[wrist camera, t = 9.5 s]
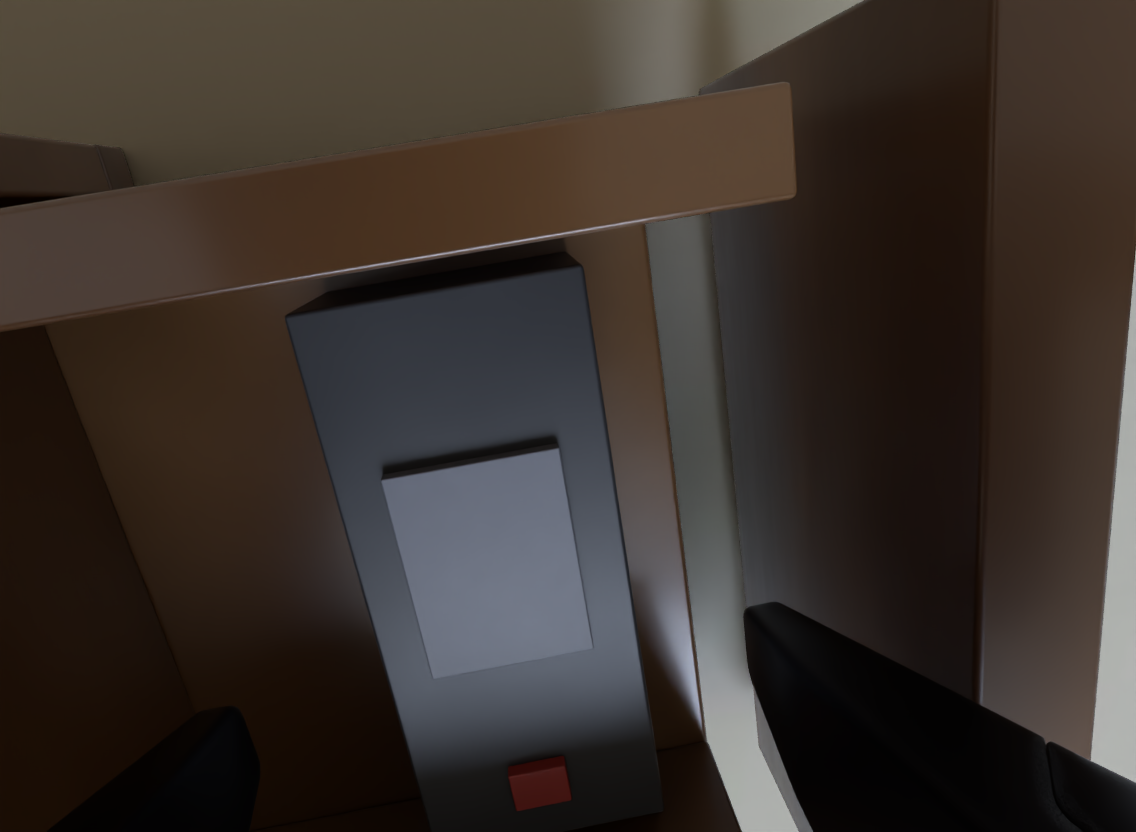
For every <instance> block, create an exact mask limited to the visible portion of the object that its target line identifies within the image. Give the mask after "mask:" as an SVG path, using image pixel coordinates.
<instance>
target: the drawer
mask: <svg viewBox="0 0 1136 832" xmlns="http://www.w3.org/2000/svg"><path fill="white" fill-rule="evenodd" d="M706 213H710V219H711V230H712V241H713V252H714V263H715V274H716V285H717V296H718V307H719V318H720V329H721V339H722V350H723V361H724V372H725V383H726V394H727V405H728V416H729V427H730V438H731V449H732V459H733V470H734V481H735V492H736V503H737V514H738V525H739V536H740V547H741V558H742V568H743V579H744V590H745V601H746V608H747V607H749V606H753V605H758V604H763V603H768V602H779V603H782V604H784V605H786V606H788V607H790V608H791V609H793V610H795V611H797V612H799V613H801V614H803V615H805V616H807V617H809V618H811V619H813V620H815V621H817V622H819V623H821V624H823V625H825V626H827V627H829V628H831V629H833V630H835V631H837V632H839V633H840V634H842V635H844V636H846V637H848V638H850V639H852V640H854V641H856V642H858V643H860V644H862V645H864V646H866V647H868V648H870V649H872V650H874V651H876V652H878V653H880V654H882V655H884V656H886V657H887V658H889V659H891V660H893V661H895V662H897V663H899V664H901V665H903V666H905V667H907V668H909V669H911V670H913V671H915V672H917V673H919V674H921V675H923V676H925V677H927V678H929V679H931V680H933V681H935V682H936V683H938V684H940V685H942V686H944V687H946V688H948V689H950V690H952V691H954V692H956V693H958V694H960V695H962V696H964V697H966V698H968V699H970V700H972V701H974V702H976V703H978V704H980V705H982V706H983V707H985V708H987V709H989V710H991V711H993V712H995V713H997V714H999V715H1001V716H1003V717H1005V718H1007V719H1009V720H1011V721H1013V722H1015V723H1017V724H1019V725H1021V726H1023V727H1025V728H1027V729H1029V730H1031V731H1032V732H1034V733H1036V734H1038V735H1040V736H1042V737H1043V738H1044V739H1045V742H1046V744H1047V743H1048V742H1050V741H1052V742H1055V743H1057V744H1058V745H1060V746H1062V747H1064V748H1066V749H1068V750H1070V751H1072V752H1074V753H1076V754H1078V755H1080V756H1082V757H1084V758H1086V759H1088V760H1091V749H1092V737H1093V726H1094V715H1095V703H1096V692H1097V681H1098V669H1099V658H1100V647H1101V635H1102V624H1103V613H1104V602H1105V590H1106V579H1107V568H1108V556H1109V545H1110V534H1111V522H1112V511H1113V500H1114V488H1115V477H1116V466H1117V454H1118V443H1119V432H1120V420H1121V409H1122V398H1123V386H1124V375H1125V364H1126V352H1127V341H1128V330H1129V318H1130V307H1131V296H1132V284H1133V273H1134V262H1135V250H1136V0H863V1H862V2H860V3H858V4H856V5H854V6H852V7H850V8H849V9H847V10H845V11H843V12H841V13H839V14H837V15H836V16H834V17H832V18H830V19H828V20H826V21H824V22H823V23H821V24H819V25H817V26H815V27H813V28H812V29H810V30H808V31H806V32H804V33H802V34H800V35H799V36H797V37H795V38H793V39H791V40H789V41H787V42H786V43H784V44H782V45H780V46H778V47H776V48H774V49H773V50H771V51H769V52H767V53H765V54H763V55H761V56H760V57H758V58H756V59H754V60H752V61H750V62H748V63H747V64H745V65H743V66H741V67H739V68H737V69H735V70H734V71H732V72H730V73H728V74H726V75H724V76H722V77H721V78H719V79H717V80H715V81H713V82H711V83H710V84H708V85H706V86H704V87H702V88H701V89H700V90H699V95H698V96H692V97H686V98H679V99H673V100H667V101H661V102H655V103H649V104H642V105H636V106H630V107H624V108H618V109H611V110H605V111H599V112H593V113H587V114H580V115H574V116H568V117H562V118H556V119H549V120H543V121H537V122H531V123H525V124H518V125H512V126H506V127H500V128H494V129H488V130H481V131H475V132H469V133H463V134H457V135H450V136H444V137H438V138H432V139H426V140H419V141H413V142H407V143H401V144H395V145H388V146H382V147H376V148H370V149H364V150H357V151H351V152H345V153H339V154H333V155H326V156H320V157H314V158H308V159H302V160H296V161H289V162H283V163H277V164H271V165H265V166H258V167H252V168H246V169H240V170H234V171H227V172H221V173H215V174H209V175H203V176H196V177H190V178H184V179H178V180H172V181H165V182H159V183H153V184H147V185H141V186H135V187H128V188H122V189H116V190H110V191H104V192H97V193H91V194H85V195H79V196H73V197H66V198H60V199H54V200H48V201H42V202H35V203H29V204H23V205H17V206H11V207H4V208H0V832H46V831H47V830H49V829H50V828H51V827H52V826H54V825H55V824H56V823H58V822H59V821H60V820H61V819H63V818H64V817H65V816H66V815H68V814H69V813H70V812H72V811H73V810H74V809H75V808H77V807H78V806H79V805H80V804H82V803H83V802H84V801H86V800H87V799H88V798H89V797H91V796H92V795H93V794H94V793H96V792H97V791H98V790H100V789H101V788H102V787H103V786H105V785H106V784H107V783H108V782H110V781H111V780H112V779H114V778H115V777H116V776H117V775H119V774H120V773H121V772H123V771H124V770H125V769H126V768H128V767H129V766H130V765H131V764H133V763H134V762H135V761H137V760H138V759H139V758H140V757H142V756H143V755H144V754H145V753H147V752H148V751H149V750H151V749H152V748H153V747H154V746H156V745H157V744H158V743H159V742H161V741H162V740H163V739H165V738H166V737H167V736H168V735H170V734H171V733H172V732H173V731H175V730H176V729H177V728H179V727H180V726H181V725H182V724H184V723H185V722H186V721H187V720H189V719H190V718H191V717H193V716H194V715H195V714H197V713H198V712H200V711H203V710H207V709H213V708H218V707H223V706H229V705H233V706H235V707H238V708H239V710H240V711H241V712H242V714H243V716H244V719H245V722H246V725H247V727H248V730H249V733H250V736H251V738H252V741H253V744H254V747H255V749H256V752H257V755H258V758H259V762H260V781H259V787H258V792H257V797H256V801H255V806H254V811H253V816H252V821H251V826H250V831H249V832H430V828H429V825H428V821H427V818H426V814H425V811H424V807H423V804H422V800H421V797H420V793H419V790H418V786H417V783H416V779H415V776H414V772H413V769H412V765H411V761H410V758H409V754H408V751H407V747H406V744H405V740H404V737H403V733H402V730H401V726H400V723H399V719H398V716H397V712H396V709H395V705H394V702H393V698H392V695H391V691H390V688H389V684H388V681H387V677H386V674H385V670H384V667H383V663H382V660H381V656H380V653H379V649H378V646H377V642H376V639H375V635H374V631H373V628H372V624H371V621H370V617H369V614H368V610H367V607H366V603H365V600H364V596H363V593H362V589H361V586H360V582H359V579H358V575H357V572H356V568H355V565H354V561H353V558H352V554H351V551H350V547H349V544H348V540H347V537H346V533H345V530H344V526H343V523H342V519H341V516H340V512H339V509H338V505H337V502H336V498H335V494H334V491H333V487H332V484H331V480H330V477H329V473H328V470H327V466H326V463H325V459H324V456H323V452H322V449H321V445H320V442H319V438H318V435H317V431H316V428H315V424H314V421H313V417H312V414H311V410H310V407H309V403H308V400H307V396H306V393H305V389H304V386H303V382H302V379H301V375H300V372H299V368H298V365H297V361H296V357H295V354H294V350H293V347H292V343H291V340H290V336H289V333H288V329H287V326H286V322H285V315H287V314H288V313H290V312H292V311H294V310H295V309H297V308H299V307H301V306H303V305H304V304H306V303H308V302H310V301H312V300H313V299H315V298H317V297H319V296H321V295H323V294H324V293H326V292H330V291H336V290H342V289H348V288H354V287H359V286H365V285H371V284H377V283H383V282H389V281H395V280H400V279H406V278H412V277H418V276H424V275H430V274H436V273H441V272H447V271H453V270H459V269H465V268H471V267H477V266H482V265H488V264H494V263H500V262H506V261H512V260H517V259H523V258H529V257H535V256H541V255H547V254H553V253H558V252H567V253H569V254H570V255H571V256H572V257H573V258H575V259H576V260H577V261H578V262H579V263H580V264H582V266H583V268H584V273H585V280H586V287H587V293H588V300H589V307H590V313H591V320H592V327H593V333H594V340H595V347H596V353H597V360H598V367H599V373H600V380H601V387H602V393H603V400H604V407H605V413H606V420H607V427H608V433H609V440H610V447H611V454H612V460H613V467H614V474H615V480H616V487H617V494H618V500H619V507H620V514H621V520H622V527H623V534H624V540H625V547H626V554H627V560H628V567H629V574H630V580H631V587H632V594H633V600H634V607H635V614H636V620H637V627H638V634H639V640H640V647H641V654H642V660H643V667H644V674H645V680H646V687H647V694H648V700H649V707H650V714H651V720H652V727H653V734H654V740H655V747H656V754H657V760H658V767H659V774H660V780H661V787H662V794H663V801H664V811H662V812H658V813H653V814H648V815H643V816H638V817H633V818H628V819H623V820H618V821H613V822H608V823H604V824H599V825H594V826H589V827H584V828H579V829H574V830H569V831H564V832H742V830H741V828H740V825H739V822H738V820H737V817H736V815H735V812H734V809H733V807H732V804H731V801H730V799H729V796H728V794H727V791H726V788H725V786H724V783H723V780H722V778H721V775H720V772H719V770H718V767H717V765H716V762H715V759H714V757H713V754H712V751H711V749H710V746H709V744H708V743H707V737H706V729H705V721H704V712H703V704H702V696H701V687H700V679H699V670H698V662H697V654H696V645H695V637H694V629H693V620H692V612H691V603H690V595H689V587H688V578H687V570H686V562H685V553H684V545H683V536H682V528H681V520H680V511H679V503H678V495H677V486H676V478H675V469H674V461H673V453H672V444H671V436H670V428H669V419H668V411H667V402H666V394H665V386H664V377H663V369H662V361H661V352H660V344H659V335H658V327H657V319H656V310H655V302H654V294H653V285H652V277H651V268H650V260H649V252H648V243H647V235H646V227H645V224H647V223H653V222H659V221H665V220H671V219H677V218H683V217H689V216H694V215H700V214H706ZM753 688H754V687H753ZM754 699H755V710H756V721H757V732H758V743H759V748H760V750H761V752H762V754H763V756H764V758H765V760H766V762H767V765H768V767H769V769H770V771H771V773H772V775H773V777H774V779H775V782H776V784H777V786H778V788H779V790H780V792H781V794H782V796H783V799H784V801H785V803H786V805H787V807H788V809H789V811H790V814H791V816H792V818H793V820H794V822H795V824H796V826H797V828H798V831H799V832H813V831H812V829H811V827H810V825H809V823H808V821H807V819H806V817H805V815H804V813H803V811H802V808H801V806H800V804H799V802H798V800H797V798H796V795H795V793H794V790H793V788H792V785H791V783H790V780H789V778H788V775H787V773H786V770H785V767H784V765H783V762H782V760H781V757H780V754H779V752H778V749H777V747H776V744H775V741H774V739H773V736H772V734H771V731H770V728H769V726H768V723H767V720H766V718H765V715H764V713H763V710H762V707H761V705H760V702H759V700H758V697H757V694H756V692H755V689H754Z"/></svg>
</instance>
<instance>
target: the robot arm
mask: <svg viewBox="0 0 1136 832" xmlns="http://www.w3.org/2000/svg"><path fill="white" fill-rule="evenodd" d="M743 619H744V631H745V641H746V652H747V662H748V669H749V673H750V677H751V681H752V684H753V687H754V689H755V692H756V694H757V697H758V700H759V702H760V705H761V707H762V710H763V713H764V715H765V718H766V720H767V723H768V726H769V728H770V731H771V734H772V736H773V739H774V741H775V744H776V747H777V749H778V752H779V754H780V757H781V760H782V762H783V765H784V767H785V770H786V773H787V775H788V778H789V780H790V783H791V785H792V788H793V790H794V793H795V795H796V798H797V800H798V802H799V804H800V806H801V808H802V811H803V813H804V815H805V817H806V819H807V821H808V823H809V825H810V827H811V829H812V831H813V832H1136V783H1135V782H1133V781H1131V780H1129V779H1127V778H1125V777H1123V776H1121V775H1118V774H1116V773H1114V772H1112V771H1110V770H1108V769H1106V768H1104V767H1102V766H1100V765H1098V764H1096V763H1094V762H1092V761H1090V760H1088V759H1086V758H1084V757H1082V756H1080V755H1078V754H1076V753H1074V752H1072V751H1070V750H1068V749H1066V748H1064V747H1062V746H1060V745H1058V744H1057V743H1055V742H1052V741H1050V742H1048V743H1047V744H1046V742H1045V739H1044V738H1043V737H1042V736H1040V735H1038V734H1036V733H1034V732H1032V731H1031V730H1029V729H1027V728H1025V727H1023V726H1021V725H1019V724H1017V723H1015V722H1013V721H1011V720H1009V719H1007V718H1005V717H1003V716H1001V715H999V714H997V713H995V712H993V711H991V710H989V709H987V708H985V707H983V706H982V705H980V704H978V703H976V702H974V701H972V700H970V699H968V698H966V697H964V696H962V695H960V694H958V693H956V692H954V691H952V690H950V689H948V688H946V687H944V686H942V685H940V684H938V683H936V682H935V681H933V680H931V679H929V678H927V677H925V676H923V675H921V674H919V673H917V672H915V671H913V670H911V669H909V668H907V667H905V666H903V665H901V664H899V663H897V662H895V661H893V660H891V659H889V658H887V657H886V656H884V655H882V654H880V653H878V652H876V651H874V650H872V649H870V648H868V647H866V646H864V645H862V644H860V643H858V642H856V641H854V640H852V639H850V638H848V637H846V636H844V635H842V634H840V633H839V632H837V631H835V630H833V629H831V628H829V627H827V626H825V625H823V624H821V623H819V622H817V621H815V620H813V619H811V618H809V617H807V616H805V615H803V614H801V613H799V612H797V611H795V610H793V609H791V608H790V607H788V606H786V605H784V604H782V603H779V602H768V603H763V604H758V605H753V606H749V607H747V608H746V609H745V611H744V616H743ZM259 781H260V762H259V758H258V755H257V752H256V749H255V747H254V744H253V741H252V738H251V736H250V733H249V730H248V727H247V725H246V722H245V719H244V716H243V714H242V712H241V711H240V710H239V708H238V707H235V706H233V705H229V706H223V707H218V708H213V709H207V710H203V711H200V712H198V713H197V714H195V715H194V716H193V717H191V718H190V719H189V720H187V721H186V722H185V723H184V724H182V725H181V726H180V727H179V728H177V729H176V730H175V731H173V732H172V733H171V734H170V735H168V736H167V737H166V738H165V739H163V740H162V741H161V742H159V743H158V744H157V745H156V746H154V747H153V748H152V749H151V750H149V751H148V752H147V753H145V754H144V755H143V756H142V757H140V758H139V759H138V760H137V761H135V762H134V763H133V764H131V765H130V766H129V767H128V768H126V769H125V770H124V771H123V772H121V773H120V774H119V775H117V776H116V777H115V778H114V779H112V780H111V781H110V782H108V783H107V784H106V785H105V786H103V787H102V788H101V789H100V790H98V791H97V792H96V793H94V794H93V795H92V796H91V797H89V798H88V799H87V800H86V801H84V802H83V803H82V804H80V805H79V806H78V807H77V808H75V809H74V810H73V811H72V812H70V813H69V814H68V815H66V816H65V817H64V818H63V819H61V820H60V821H59V822H58V823H56V824H55V825H54V826H52V827H51V828H50V829H49V830H47V831H46V832H249V831H250V826H251V821H252V816H253V811H254V806H255V801H256V797H257V792H258V787H259Z"/></svg>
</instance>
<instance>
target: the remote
mask: <svg viewBox="0 0 1136 832" xmlns="http://www.w3.org/2000/svg"><path fill="white" fill-rule="evenodd" d="M285 322H286V326H287V329H288V333H289V336H290V340H291V343H292V347H293V350H294V354H295V357H296V361H297V365H298V368H299V372H300V375H301V379H302V382H303V386H304V389H305V393H306V396H307V400H308V403H309V407H310V410H311V414H312V417H313V421H314V424H315V428H316V431H317V435H318V438H319V442H320V445H321V449H322V452H323V456H324V459H325V463H326V466H327V470H328V473H329V477H330V480H331V484H332V487H333V491H334V494H335V498H336V502H337V505H338V509H339V512H340V516H341V519H342V523H343V526H344V530H345V533H346V537H347V540H348V544H349V547H350V551H351V554H352V558H353V561H354V565H355V568H356V572H357V575H358V579H359V582H360V586H361V589H362V593H363V596H364V600H365V603H366V607H367V610H368V614H369V617H370V621H371V624H372V628H373V631H374V635H375V639H376V642H377V646H378V649H379V653H380V656H381V660H382V663H383V667H384V670H385V674H386V677H387V681H388V684H389V688H390V691H391V695H392V698H393V702H394V705H395V709H396V712H397V716H398V719H399V723H400V726H401V730H402V733H403V737H404V740H405V744H406V747H407V751H408V754H409V758H410V761H411V765H412V769H413V772H414V776H415V779H416V783H417V786H418V790H419V793H420V797H421V800H422V804H423V807H424V811H425V814H426V818H427V821H428V825H429V828H430V832H564V831H569V830H574V829H579V828H584V827H589V826H594V825H599V824H604V823H608V822H613V821H618V820H623V819H628V818H633V817H638V816H643V815H648V814H653V813H658V812H662V811H664V801H663V794H662V787H661V780H660V774H659V767H658V760H657V754H656V747H655V740H654V734H653V727H652V720H651V714H650V707H649V700H648V694H647V687H646V680H645V674H644V667H643V660H642V654H641V647H640V640H639V634H638V627H637V620H636V614H635V607H634V600H633V594H632V587H631V580H630V574H629V567H628V560H627V554H626V547H625V540H624V534H623V527H622V520H621V514H620V507H619V500H618V494H617V487H616V480H615V474H614V467H613V460H612V454H611V447H610V440H609V433H608V427H607V420H606V413H605V407H604V400H603V393H602V387H601V380H600V373H599V367H598V360H597V353H596V347H595V340H594V333H593V327H592V320H591V313H590V307H589V300H588V293H587V287H586V280H585V273H584V268H583V266H582V264H580V263H579V262H578V261H577V260H576V259H575V258H573V257H572V256H571V255H570V254H569V253H567V252H558V253H553V254H547V255H541V256H535V257H529V258H523V259H517V260H512V261H506V262H500V263H494V264H488V265H482V266H477V267H471V268H465V269H459V270H453V271H447V272H441V273H436V274H430V275H424V276H418V277H412V278H406V279H400V280H395V281H389V282H383V283H377V284H371V285H365V286H359V287H354V288H348V289H342V290H336V291H330V292H326V293H324V294H323V295H321V296H319V297H317V298H315V299H313V300H312V301H310V302H308V303H306V304H304V305H303V306H301V307H299V308H297V309H295V310H294V311H292V312H290V313H288V314H287V315H285Z"/></svg>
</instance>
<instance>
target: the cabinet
mask: <svg viewBox="0 0 1136 832" xmlns="http://www.w3.org/2000/svg"><path fill="white" fill-rule="evenodd" d="M128 187H134V184H133V181H132V178H131V175H130V172H129V169H128V166H127V163H126V160H125V157H124V154H123V151H122V149H121V148H118V147H111V146H103V145H89V144H82V143H74V142H66V141H59V140H51V139H43V138H35V137H27V136H19V135H11V134H3V133H0V208H4V207H11V206H17V205H23V204H29V203H35V202H42V201H48V200H54V199H60V198H66V197H73V196H79V195H85V194H91V193H97V192H104V191H110V190H116V189H122V188H128Z"/></svg>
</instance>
